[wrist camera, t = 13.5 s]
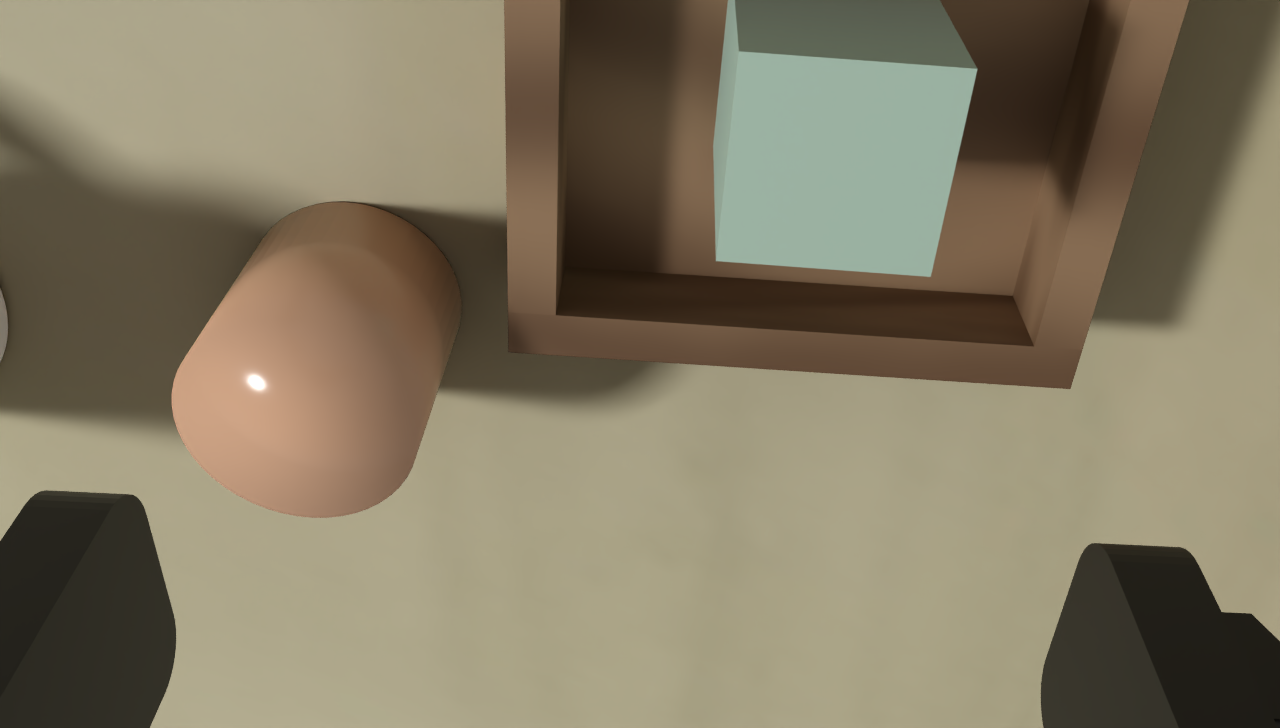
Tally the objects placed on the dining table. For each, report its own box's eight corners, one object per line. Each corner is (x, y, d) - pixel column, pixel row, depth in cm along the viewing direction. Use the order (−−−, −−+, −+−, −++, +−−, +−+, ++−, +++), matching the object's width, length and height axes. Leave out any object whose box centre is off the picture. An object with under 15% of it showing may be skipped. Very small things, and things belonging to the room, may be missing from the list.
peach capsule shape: (247, 186, 32) (161, 301, 27) (468, 221, 33) (423, 342, 28) (254, 366, 36) (180, 498, 31) (455, 397, 36) (412, 533, 31)
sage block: (731, -37, 28) (738, 50, 23) (927, -23, 28) (977, 68, 23) (713, 145, 30) (716, 261, 25) (892, 158, 30) (931, 276, 25)
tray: (523, -300, 26) (501, -283, 23) (1197, -258, 26) (1261, -235, 23) (524, 284, 34) (508, 352, 31) (1038, 317, 34) (1069, 389, 31)
